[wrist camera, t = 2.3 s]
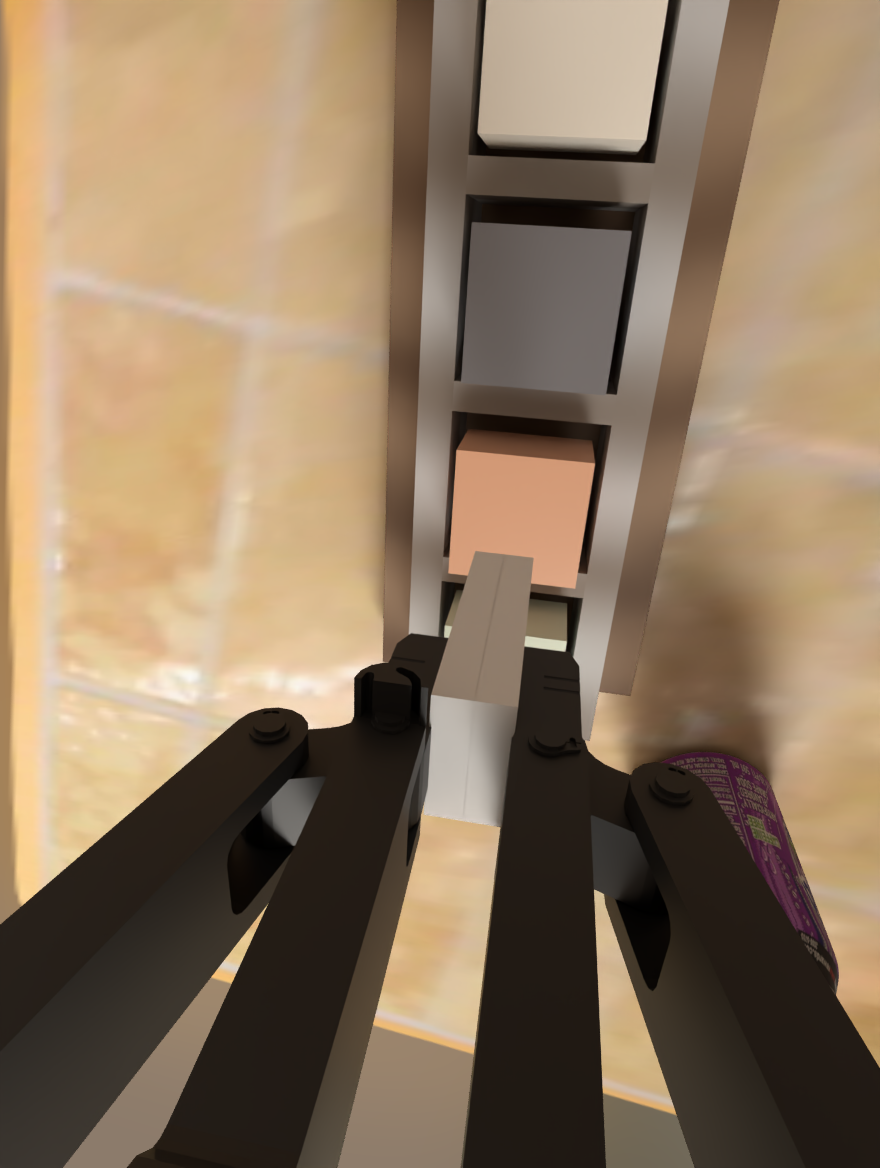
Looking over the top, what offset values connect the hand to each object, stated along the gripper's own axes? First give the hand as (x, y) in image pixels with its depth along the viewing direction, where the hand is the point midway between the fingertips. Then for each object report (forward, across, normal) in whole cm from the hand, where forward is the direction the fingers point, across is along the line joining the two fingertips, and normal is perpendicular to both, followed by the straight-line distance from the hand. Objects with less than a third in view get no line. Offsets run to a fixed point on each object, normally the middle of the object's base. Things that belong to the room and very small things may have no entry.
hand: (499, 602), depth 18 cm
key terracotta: (+9, 0, 0) cm, 9 cm away
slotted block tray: (+14, 0, +4) cm, 15 cm away
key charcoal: (+9, 0, +7) cm, 11 cm away
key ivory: (+8, 0, +13) cm, 16 cm away
